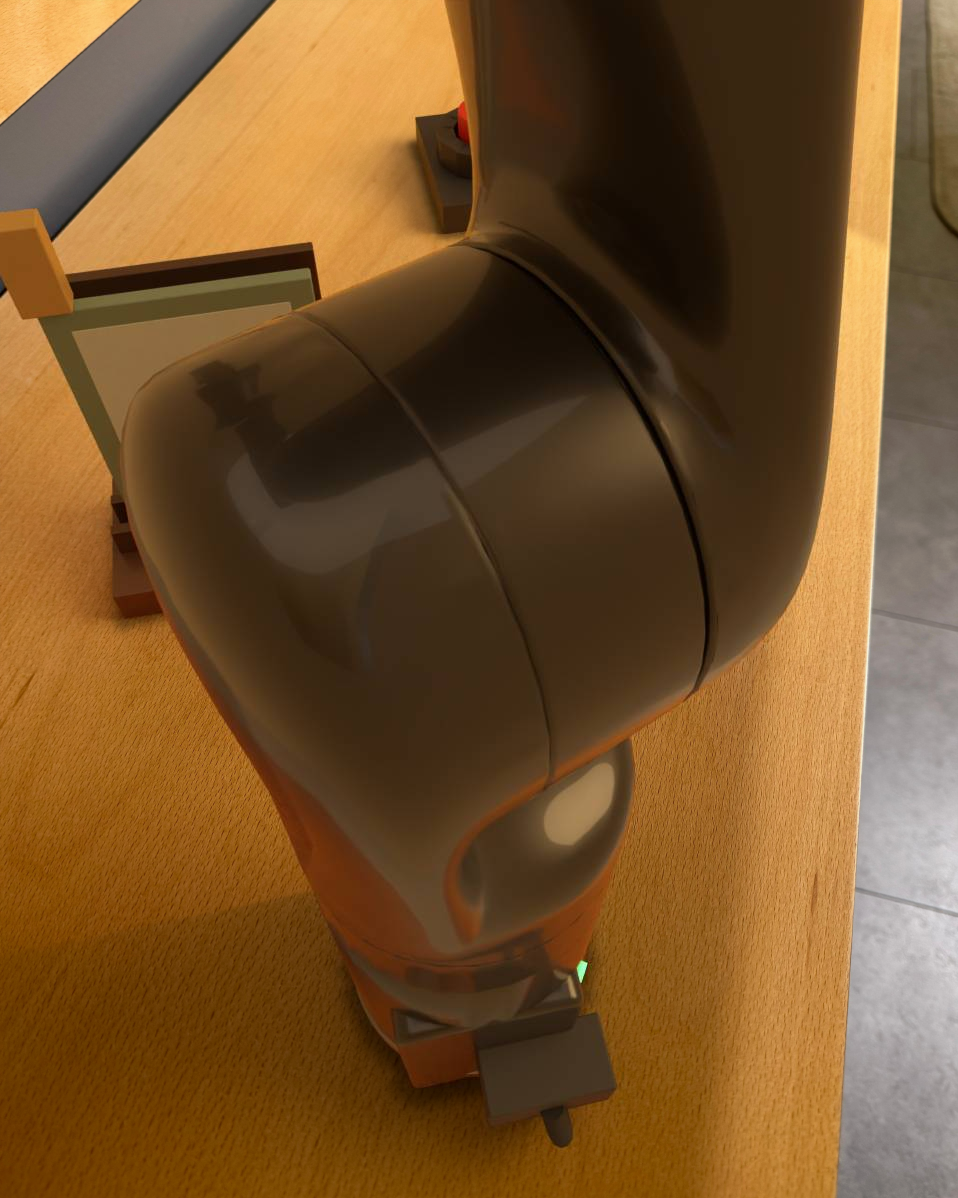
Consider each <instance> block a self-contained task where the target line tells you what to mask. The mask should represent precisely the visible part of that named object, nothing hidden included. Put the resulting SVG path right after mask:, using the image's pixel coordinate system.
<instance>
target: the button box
mask: <svg viewBox="0 0 958 1198" xmlns="http://www.w3.org/2000/svg"><path fill="white" fill-rule="evenodd" d="M414 121H415V136H416V137H415V139H416V147H417V150H418V154H419V156H420V160H421V164H422V167H423V169H424V173H425V176H426V180H427V183H428V187H429V190H430V193H431V196H432V199H433V203H434V206H435V210H436V213H437V216H438V219H439V223H440V226H441V229H442V232H443V235H451V234H455V233H466V232H467V228H468V225H469V221H470V217H471V211H472V205H473V180H472V156H471V147H470V144H466V143H465V142H463V141H462V140H460V138H459V135H458V107H456V108H454V109H452V110H450V111H447V112H446V113H437V114H431V115H430V114H429V115H421V116H415V117H414Z"/></svg>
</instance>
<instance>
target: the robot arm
mask: <svg viewBox="0 0 958 1198" xmlns="http://www.w3.org/2000/svg"><path fill="white" fill-rule="evenodd" d="M443 1H444V2H443V3H444V6H445V11H446V15H447V20H448V24H449V25H448V26H449V28H450V29H449V30H450V34H451V38H452V43H453V47H454V52H455V56H456V61H457V66H458V73H459V77H460V84H461V90H462V96H463V101H465V107H466V113H467V121H468V129H469V138H470V147H471V156H472V180H473V205H472V211H471V217H470V221H469V225H468V228H467V231H465V234H464V237H463V239H461V240H459V241H456V242H454V243H453V244H449V245H446V246H444V247H441V248H439V249H437V250H435V251H432V252H430V253H428V254H425V255H423V256H421V257H418V258H416V259H413V260H411V261H409V262H406V263H404V264H402V265H399V266H397V267H394V268H392V269H389V270H387V271H384V272H382V273H380V274H377V275H375V276H372V277H371V278H368V279H366V280H364V281H363V280H362V281H361V282H358V283H356V284H353V285H351V286H349V287H346V288H344V289H342V290H339V291H336V292H335V293H332V294H330V295H328V296H325V297H322V299H320V300H318V301H315V302H313V303H311V304H308V305H306V306H303V307H301V308H299V309H296V310H294V311H292V312H290V313H288V314H286V315H282V316H279V317H276V318H274V319H272V320H269V321H267V322H265V323H262V324H260V325H258V326H255V327H253V328H251V329H248V330H246V331H244V332H241V333H239V334H237V335H234V336H232V337H230V338H227V339H225V340H223V341H220V342H218V343H215V344H213V345H211V346H209V347H207V348H204V349H202V350H200V351H198V352H196V353H193V354H191V355H189V356H187V357H185V358H182V359H180V360H178V361H176V362H174V363H173V364H171V365H169V366H168V367H166V368H164V369H162V370H161V371H159V372H157V373H156V374H154V375H153V376H152V377H151V378H150V379H148V380H147V381H146V382H145V383H144V384H143V385H142V386H141V387H140V388H139V389H138V391H137V393H136V395H135V396H134V398H133V400H132V401H131V403H130V405H129V408H128V412H127V415H126V418H125V422H124V425H123V428H122V434H121V449H120V473H121V479H122V485H123V492H124V498H125V504H126V510H127V515H128V521H129V524H130V527H131V531H132V534H133V537H134V540H135V542H136V545H137V548H138V550H139V553H140V556H141V558H142V561H143V564H144V566H145V569H146V572H147V575H148V577H149V580H150V583H151V585H152V588H153V590H154V593H155V595H156V598H157V600H158V602H159V605H160V607H161V609H162V611H163V612H162V613H163V615H164V617H165V619H166V621H167V624H168V625H169V627H170V629H171V631H172V633H173V634H174V636H175V638H176V640H177V642H178V644H179V646H180V648H181V649H182V652H183V653H184V655H185V657H186V658H187V660H188V662H189V664H190V665H191V667H192V669H193V670H194V673H195V674H196V676H197V678H198V679H199V681H200V683H201V684H202V686H203V688H204V690H205V691H206V694H207V695H208V696H209V698H210V700H211V702H212V704H213V705H214V707H215V708H216V710H217V712H218V714H219V715H220V716H221V718H222V720H223V722H224V723H225V724H226V726H227V727H228V729H229V730H230V732H231V733H232V735H233V737H234V738H235V740H236V741H237V743H238V745H239V747H240V748H241V749H242V751H243V752H244V754H245V755H246V757H247V759H248V760H249V762H250V764H251V765H252V767H253V769H254V771H256V773H257V775H258V777H259V778H260V780H261V782H262V783H263V785H264V786H265V788H266V789H267V791H268V793H269V795H270V797H271V800H272V802H273V804H274V807H275V809H276V811H277V814H278V816H279V818H280V820H281V823H282V825H283V828H284V829H285V831H286V834H287V836H288V839H289V842H290V844H291V845H292V848H293V851H294V853H295V855H296V859H297V860H298V863H299V866H300V869H301V870H302V872H303V874H304V876H305V878H306V880H307V882H308V884H309V886H310V888H311V890H312V893H313V895H314V898H315V900H316V902H317V905H318V907H319V909H320V911H321V913H322V916H323V918H324V920H325V922H326V924H327V927H328V928H329V931H330V933H331V936H332V937H333V940H334V942H335V944H336V946H337V948H338V951H339V953H340V955H341V957H342V959H343V962H344V964H345V966H346V969H347V970H348V972H349V975H350V977H351V979H352V982H353V983H354V986H355V989H356V994H357V996H358V999H359V1001H360V1004H361V1006H362V1008H363V1011H364V1012H365V1015H366V1016H367V1019H368V1020H369V1022H370V1024H371V1025H372V1027H373V1028H374V1030H375V1031H376V1033H377V1034H378V1035H379V1037H380V1038H381V1039H382V1040H383V1041H384V1042H385V1043H386V1044H387V1045H388V1046H389V1047H390V1048H391V1049H392V1050H393V1051H394V1052H396V1054H398V1055H399V1056H400V1058H401V1061H402V1063H403V1066H404V1068H405V1071H406V1073H407V1075H408V1078H409V1080H410V1082H411V1085H412V1087H414V1089H423V1088H428V1087H431V1086H436V1085H440V1084H445V1083H450V1082H453V1081H458V1080H463V1079H467V1078H479V1082H480V1087H481V1088H480V1089H481V1093H482V1099H483V1103H484V1104H483V1105H484V1109H485V1114H486V1115H485V1116H486V1119H487V1120H486V1121H487V1124H488V1127H489V1128H495V1127H499V1126H503V1125H507V1124H508V1125H509V1124H512V1123H515V1122H520V1121H524V1120H529V1119H532V1118H537V1117H541V1118H542V1121H543V1125H544V1127H545V1130H546V1133H547V1135H548V1137H549V1139H550V1141H551V1143H552V1144H553V1146H556V1147H558V1148H559V1149H563V1148H566V1147H569V1146H570V1144H571V1143H572V1141H573V1140H574V1128H573V1124H572V1119H571V1116H570V1112H569V1110H570V1109H571V1110H572V1109H575V1108H579V1107H583V1106H587V1105H591V1104H597V1103H599V1102H605V1101H608V1100H609V1099H610V1098H611V1097H612V1096H613V1094H614V1093H615V1092H616V1091H617V1089H618V1083H617V1080H616V1075H615V1072H614V1068H613V1065H612V1060H611V1056H610V1053H609V1049H608V1045H607V1041H606V1037H605V1034H604V1030H603V1029H604V1028H603V1026H602V1021H601V1018H600V1015H599V1013H598V1012H596V1011H595V1012H590V1013H587V1014H582V1015H580V1013H581V1010H582V1008H583V1006H584V1003H585V995H584V991H583V987H582V981H583V978H584V975H585V972H586V969H587V965H588V962H585V961H584V959H585V956H586V953H587V950H588V947H589V944H590V941H591V938H592V936H593V932H594V929H595V926H596V923H597V920H598V917H599V914H600V912H601V908H602V906H603V903H604V900H605V897H606V895H607V892H608V889H609V886H610V884H611V880H612V877H613V874H614V871H615V869H616V865H617V863H618V860H619V857H620V853H621V851H622V848H623V846H624V842H625V840H626V837H627V832H628V830H629V827H630V826H629V825H630V822H631V818H632V812H633V807H634V803H635V791H636V764H635V755H634V748H633V744H632V738H631V736H634V735H635V734H636V733H638V732H639V731H641V730H642V729H644V728H646V727H647V726H649V725H650V724H652V723H653V722H655V721H657V720H658V719H659V718H662V717H663V716H664V715H666V714H668V713H669V712H671V711H672V710H673V709H675V708H677V707H679V706H680V705H681V704H682V703H686V701H687V700H688V699H690V698H691V697H692V696H693V695H695V694H697V693H699V692H700V691H702V690H703V689H705V688H707V687H708V686H710V685H712V684H713V683H714V682H716V681H717V680H718V679H720V678H721V677H723V676H724V675H726V674H727V673H728V672H729V671H731V670H732V669H733V668H734V667H735V666H737V665H738V664H740V662H742V660H744V659H745V658H746V657H747V656H748V655H749V654H750V653H751V652H753V650H754V649H755V648H756V647H757V646H758V645H759V644H760V643H761V642H762V641H764V639H765V638H766V637H767V635H768V634H769V633H770V632H771V631H772V629H774V627H775V626H777V624H778V622H780V620H781V618H782V617H783V615H784V614H785V612H786V611H787V609H788V607H789V606H790V604H791V602H792V600H793V598H794V597H795V595H796V593H797V592H798V589H799V586H800V585H801V581H802V580H803V577H804V575H805V572H806V569H807V567H808V565H809V564H808V563H809V561H810V556H811V554H812V550H813V546H814V543H815V540H816V536H817V535H816V534H817V530H818V525H819V521H820V516H821V511H822V505H823V499H824V495H825V486H826V479H827V475H828V466H829V458H830V449H831V447H830V446H831V439H832V431H833V420H834V407H835V396H836V384H837V383H836V382H837V372H838V371H837V370H838V369H837V368H838V360H839V359H838V357H839V346H840V333H841V321H842V320H841V319H842V305H843V295H844V294H843V292H844V278H845V265H846V253H847V251H846V250H847V237H848V224H849V212H850V211H849V207H850V197H851V196H850V195H851V182H852V169H853V168H852V167H853V153H854V140H855V126H856V115H857V114H856V113H857V100H858V99H857V98H858V86H859V85H858V84H859V74H860V73H859V72H860V61H861V47H862V35H863V26H864V25H863V22H864V11H865V0H443Z"/></svg>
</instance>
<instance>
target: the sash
mask: <svg viewBox="0 0 958 1198" xmlns="http://www.w3.org/2000/svg"><path fill="white" fill-rule="evenodd" d="M65 274H66V273H65V271H64V268H63V266H62V264H61V262H60V259H59V257H58V255H57V252H56V249H55V248H54V245H53V243H52V241H51V238H50V235H49V233H48V230H47V228H46V226H45V223H44V221H43V218H42V217H41V214H40V212H39V210H38V209H37V208H27V209H19V210H10V211H2V212H0V278H1V279H2V282H3V284H4V286H5V288H6V290H7V292H8V294H9V296H10V298H11V300H12V302H13V305H14V306H15V308H16V310H17V312H18V314H19V317H20V318H21V320H24V321H26V320H33V319H37V322H39V325H40V327H41V328H42V332H43V333H44V336H45V337H46V339H47V342H48V344H49V346H50V348H51V350H52V353H53V354H54V357H55V359H56V361H57V363H58V365H59V367H60V369H61V371H62V374H63V376H64V378H65V380H66V382H67V384H68V386H69V388H70V390H71V392H72V394H73V397H74V399H75V401H76V403H77V405H78V407H79V409H80V412H81V413H82V417H83V418H84V420H85V422H86V424H87V427H88V429H89V430H90V433H91V435H92V437H93V439H94V441H95V443H96V445H97V448H98V450H99V451H100V454H101V456H102V458H103V460H104V463H105V464H106V467H107V469H108V471H109V473H110V475H111V477H112V478H113V479H114V481H115V484H116V486H117V488H118V490H119V492H120V494H121V496H122V498H123V500H124V503H125V498H124V492H123V485H122V479H121V473H120V449H121V434H122V428H123V425H124V422H125V418H126V415H127V412H128V408H129V405H130V403H131V401H132V400H133V398H134V396H135V395H136V393H137V391H138V389H139V388H140V387H141V386H142V385H143V384H144V383H145V382H146V381H147V380H148V379H150V378H151V377H152V376H153V375H154V374H156V373H157V372H159V371H161V370H162V369H164V368H166V367H168V366H169V365H171V364H173V363H174V362H176V361H178V360H180V359H182V358H185V357H187V356H189V355H191V354H193V353H196V352H198V351H200V350H202V349H204V348H207V347H209V346H211V345H213V344H215V343H218V342H220V341H223V340H225V339H227V338H230V337H232V336H234V335H237V334H239V333H241V332H244V331H246V330H248V329H251V328H253V327H255V326H258V325H260V324H262V323H265V322H267V321H269V320H272V319H274V318H276V317H279V316H282V315H286V314H288V313H290V312H292V311H294V310H296V309H299V308H301V307H303V306H306V305H308V304H311V303H313V302H315V296H314V290H313V284H312V278H311V273H310V269H309V268H303V269H296V270H289V271H281V272H274V273H266V274H259V275H252V276H244V277H237V278H229V279H222V280H215V281H207V282H200V283H192V284H185V285H178V286H170V287H163V288H155V289H148V290H141V291H133V292H126V293H118V294H111V295H104V296H96V297H89V298H81V299H74V300H73V292H72V290H71V287H70V285H69V283H68V280H67V278H66V275H65ZM125 505H126V504H125Z"/></svg>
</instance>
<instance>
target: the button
mask: <svg viewBox="0 0 958 1198" xmlns="http://www.w3.org/2000/svg"><path fill="white" fill-rule="evenodd" d="M457 108H458V135H459V138H460V140H462V141H463V142H465V143H466V144H470V138H469V129H468V121H467V113H466V107H465V101H464V100H462V102H461V103H460V104H459V106H457Z"/></svg>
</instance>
